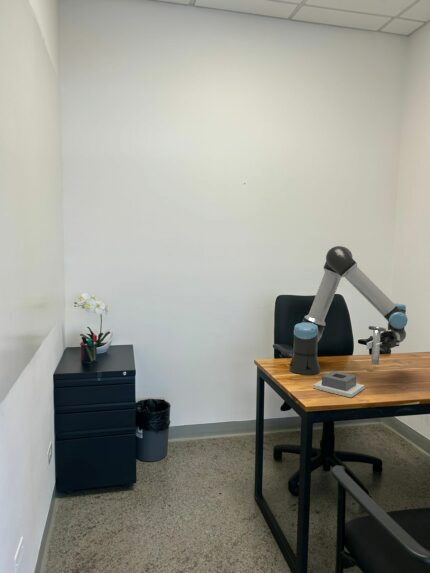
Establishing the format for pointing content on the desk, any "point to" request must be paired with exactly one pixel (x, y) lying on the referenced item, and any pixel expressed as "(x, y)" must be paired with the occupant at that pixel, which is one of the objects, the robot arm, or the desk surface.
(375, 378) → the desk surface
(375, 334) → the chuck key
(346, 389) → the chuck block
